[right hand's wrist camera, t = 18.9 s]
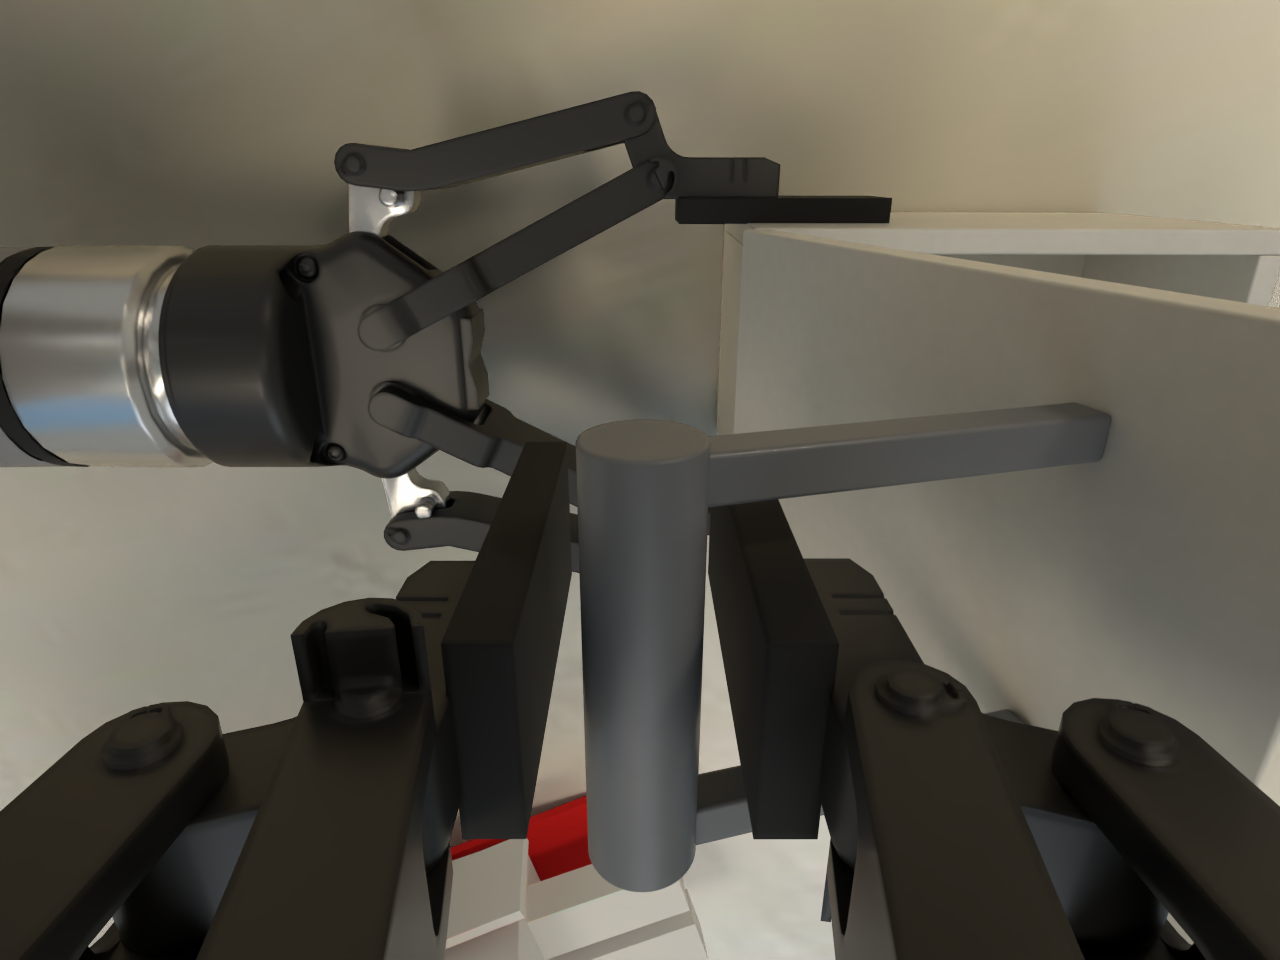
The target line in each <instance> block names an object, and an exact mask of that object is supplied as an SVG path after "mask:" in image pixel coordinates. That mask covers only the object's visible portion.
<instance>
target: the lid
mask: <svg viewBox="0 0 1280 960" xmlns="http://www.w3.org/2000/svg"><path fill="white" fill-rule="evenodd" d="M576 470H577V502H578V534H579V566H580V598H581V630H582V663H583V695H584V727H585V759H586V791H587V823H588V852H589V857H590V860H591V863H592V864H593V866H594V868H595V870H596V871H597V872H598V873H599V875H600V876H601V877H602V878H603V879H605V880H606V881H607V882H609V883H610V884H612V885H614V886H616V887H618V888H620V889H623V890H627V891H632V892H652V891H657V890H660V889H664V888H666V887H668V886H670V885H672V884H674V883H675V882H677V881H678V880H679V879H681V878H682V877H683V876H684V874H685V873H686V872H687V871H688V869H689V868H690V866H691V864H692V862H693V859H694V856H695V849H696V845H699V844H703V843H708V842H712V841H716V840H720V839H724V838H729V837H733V836H737V835H741V834H745V833H750V832H752V827H751V821H750V815H749V809H748V804H747V798H746V792H745V786H744V780H743V774H742V768H741V765H740V766H736V767H731V768H726V769H722V770H717V771H712V772H707V773H703V774H698V768H699V741H700V714H701V687H702V660H703V633H704V606H705V579H706V552H707V525H708V508H709V507H717V506H726V505H734V504H742V503H751V502H759V501H768V500H776V499H778V500H779V502H780V504H781V507H782V509H783V512H784V514H785V516H786V519H787V521H788V523H789V526H790V528H791V530H792V533H793V535H794V538H795V540H796V542H797V545H798V547H799V549H800V552H801V554H802V556H803V558H850V559H851V560H852V561H854V562H855V563H857V564H858V565H859V566H861V567H862V568H864V569H865V570H866V571H868V572H869V573H871V574H872V575H873V576H874V578H875V580H876V581H877V583H878V585H879V586H880V588H881V590H882V592H883V593H884V598H886V599H887V600H888V602H889V604H890V606H891V607H892V609H893V613H894V615H896V616H897V618H898V619H899V621H900V623H901V625H902V626H903V628H904V630H905V631H906V633H907V635H908V637H909V638H910V640H911V642H912V644H913V645H914V647H915V649H916V651H917V652H918V654H919V656H920V657H921V659H922V661H923V663H924V664H926V665H928V666H931V667H933V668H936V669H938V670H941V671H943V672H946V673H948V674H949V675H951V676H952V677H953V678H955V679H956V680H958V681H959V682H961V683H962V684H963V685H965V686H966V687H967V689H968V690H969V691H970V693H971V694H972V696H973V697H974V698H975V700H976V701H977V703H978V706H979V708H980V711H981V712H982V713H984V714H986V715H989V716H993V717H997V718H1000V719H1004V720H1008V721H1012V722H1017V723H1022V724H1027V725H1031V726H1036V727H1041V728H1046V729H1051V730H1056V731H1058V730H1059V726H1060V722H1061V718H1062V714H1063V712H1064V711H1065V710H1066V709H1067V708H1068V707H1070V706H1071V705H1072V704H1073V703H1074V702H1078V701H1082V700H1087V699H1091V698H1103V699H1119V700H1123V701H1129V702H1132V703H1137V704H1141V705H1144V706H1147V707H1150V708H1152V709H1153V710H1156V711H1158V712H1160V713H1162V714H1165V715H1167V716H1169V717H1171V718H1174V719H1176V720H1177V721H1178V722H1180V723H1181V724H1183V725H1184V726H1186V727H1187V728H1189V729H1190V730H1192V731H1193V732H1194V733H1196V734H1197V735H1199V736H1200V737H1201V738H1202V739H1203V740H1204V741H1206V742H1207V743H1208V744H1209V745H1210V746H1211V747H1212V748H1214V749H1215V750H1216V751H1217V752H1218V753H1219V754H1220V755H1222V756H1223V757H1224V758H1225V759H1226V760H1227V761H1228V762H1230V763H1231V764H1232V765H1233V766H1234V767H1235V768H1236V769H1238V770H1239V771H1240V772H1241V773H1242V774H1243V775H1244V776H1246V777H1247V778H1248V779H1249V780H1250V781H1251V782H1253V783H1254V784H1255V785H1256V786H1257V787H1258V788H1259V789H1261V790H1262V791H1263V792H1264V793H1265V794H1266V795H1267V796H1269V797H1270V798H1271V799H1272V800H1273V801H1274V802H1275V803H1277V804H1278V805H1279V806H1280V308H1275V307H1269V306H1262V305H1256V304H1249V303H1243V302H1236V301H1230V300H1223V299H1217V298H1211V297H1204V296H1198V295H1191V294H1185V293H1178V292H1172V291H1165V290H1159V289H1152V288H1146V287H1140V286H1133V285H1127V284H1120V283H1114V282H1107V281H1101V280H1094V279H1088V278H1081V277H1075V276H1068V275H1062V274H1056V273H1049V272H1043V271H1036V270H1030V269H1023V268H1017V267H1010V266H1004V265H997V264H991V263H984V262H978V261H972V260H965V259H959V258H952V257H946V256H939V255H933V254H926V253H920V252H913V251H907V250H901V249H894V248H888V247H881V246H875V245H868V244H862V243H855V242H849V241H842V240H836V239H829V238H823V237H817V236H810V235H804V234H797V233H791V232H784V231H778V230H771V229H751V230H744V232H743V251H742V271H741V292H740V313H739V333H738V354H737V374H736V395H735V416H734V434H729V435H718V436H708V437H707V435H706V434H705V433H703V432H702V431H700V430H698V429H696V428H693V427H691V426H687V425H684V424H680V423H675V422H670V421H662V420H624V421H616V422H610V423H605V424H601V425H598V426H595V427H592V428H590V429H587V430H586V431H584V432H583V433H581V434H580V435H579V436H578V438H577V441H576ZM821 815H824V812H823V808H822V805H821V812H820V816H821ZM1167 920H1168V921H1169V922H1170V923H1171V925H1172V926H1173V927H1174V928H1175V930H1176V931H1177V932H1178V933H1179V934H1180V935H1181V936H1182V937H1183V938H1184V939H1185V940H1186V941H1187V942H1188V943H1189V944H1191V945H1192V944H1193V943H1194V942H1193V941H1192V940H1191V938H1190V937H1189V936H1188V935H1187V934H1186V932H1185V931H1184V930H1183V929H1182V928H1181V926H1180V925H1179V924H1178V923H1177V922H1176V920H1175V919H1174V918H1173V917H1172V916H1171V914H1170V913H1168V916H1167Z"/></svg>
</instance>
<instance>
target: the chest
mask: <svg viewBox="0 0 1280 960" xmlns="http://www.w3.org/2000/svg"><path fill="white" fill-rule="evenodd" d="M751 229H771V230H778V231H784V232H791V233H797V234H804V235H810V236H817V237H823V238H829V239H836V240H842V241H849V242H855V243H862V244H868V245H875V246H881V247H888V248H894V249H901V250H907V251H913V252H920V253H926V254H933V255H939V256H946V257H952V258H959V259H965V260H972V261H978V262H984V263H991V264H997V265H1004V266H1010V267H1017V268H1023V269H1030V270H1036V271H1043V272H1049V273H1056V274H1062V275H1068V276H1075V277H1081V278H1088V279H1094V280H1101V281H1107V282H1114V283H1120V284H1127V285H1133V286H1140V287H1146V288H1152V289H1159V290H1165V291H1172V292H1178V293H1185V294H1191V295H1198V296H1204V297H1211V298H1217V299H1223V300H1230V301H1236V302H1243V303H1249V304H1256V305H1262V306H1269V304H1270V301H1271V298H1272V294H1273V291H1274V288H1275V284H1276V281H1277V278H1278V274H1279V271H1280V228H1269V227H1258V226H1247V225H1236V224H1225V223H1214V222H1203V221H1192V220H1180V219H1169V218H1158V217H1147V216H1136V215H1125V214H1114V213H1103V212H890V221H889V223H747V224H724V249H723V274H722V299H721V325H720V350H719V375H718V400H717V425H716V427H717V431H718V435H729V434H734V416H735V395H736V374H737V354H738V333H739V313H740V292H741V271H742V251H743V232H744V230H751Z"/></svg>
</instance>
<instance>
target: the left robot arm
mask: <svg viewBox="0 0 1280 960" xmlns="http://www.w3.org/2000/svg"><path fill="white" fill-rule="evenodd" d="M622 143H625V146H626V149H627V152H628V154H629V157H630V160H631V163H632V166H633V168H632V169H631V170H629V171H627V172H625V173H623V174H622V175H620V176H618V177H616V178H614V179H613V180H611V181H609V182H607V183H605V184H604V185H602V186H600V187H598V188H596V189H594V190H593V191H591V192H589V193H587V194H585V195H584V196H582V197H580V198H578V199H576V200H575V201H573V202H571V203H569V204H567V205H565V206H564V207H562V208H560V209H558V210H556V211H555V212H553V213H551V214H549V215H547V216H546V217H544V218H542V219H540V220H538V221H536V222H535V223H533V224H531V225H529V226H527V227H526V228H524V229H522V230H520V231H518V232H517V233H515V234H513V235H511V236H509V237H507V238H506V239H504V240H502V241H500V242H498V243H497V244H495V245H493V246H491V247H489V248H488V249H486V250H484V251H482V252H480V253H478V254H477V255H475V256H473V257H471V258H469V259H467V260H466V261H464V262H462V263H460V264H458V265H456V266H455V267H453V268H451V269H449V270H447V271H446V272H444V273H443V272H442V271H441V270H439V269H438V268H436V267H435V266H433V265H432V264H431V263H429V262H428V261H426V260H425V259H423V258H422V257H420V256H419V255H418V254H416V253H415V252H413V251H412V250H410V249H409V248H408V247H406V246H405V245H403V244H402V243H400V242H399V241H398V240H396V239H395V238H393V237H392V236H390V235H389V234H388V231H389V226H390V224H391V222H392V221H393V220H394V219H395V218H396V217H398V216H400V215H406V214H411V213H413V212H414V211H416V209H417V208H418V207H419V205H420V203H421V191H424V190H436V189H445V188H450V187H455V186H459V185H463V184H467V183H471V182H475V181H479V180H482V179H486V178H490V177H494V176H498V175H502V174H506V173H510V172H513V171H517V170H521V169H525V168H529V167H533V166H537V165H540V164H544V163H548V162H552V161H556V160H560V159H564V158H568V157H571V156H575V155H579V154H583V153H587V152H591V151H595V150H599V149H602V148H606V147H610V146H614V145H618V144H622ZM334 163H335V168H336V171H337V173H338V174H339V176H340V178H341V179H343V180H344V181H345V182H346V183H348V190H349V233H347V234H345V235H343V236H341V237H340V238H338V239H337V240H335V241H333V242H332V243H329V244H327V245H316V246H206V247H202V248H200V249H198V250H196V251H193V250H190V249H188V248H185V247H183V246H180V245H165V246H56V247H36V248H0V467H44V466H81V467H88V466H126V467H203V466H206V465H208V464H210V463H212V462H215V463H217V464H219V465H222V466H228V467H322V466H336V465H346V466H351V467H355V468H358V469H361V470H363V471H366V472H368V473H370V474H372V475H374V476H376V477H379V478H382V482H383V486H384V490H385V494H386V498H387V502H388V506H389V509H390V513H391V520H390V522H389V523H388V525H387V526H386V528H385V530H384V538H385V540H386V542H387V544H388V545H390V546H391V547H392V548H394V549H396V550H403V551H405V550H414V549H424V548H433V547H443V546H452V547H457V548H462V549H467V550H472V551H476V552H480V549H481V547H482V545H483V542H484V540H485V538H486V535H487V533H488V530H489V528H490V526H491V523H492V521H493V519H494V516H495V514H496V511H497V509H498V507H499V504H500V502H501V500H502V498H498V497H494V496H489V495H484V494H479V493H473V492H464V491H449V490H448V488H447V487H446V486H445V484H444V483H443V482H441V481H435V480H428V479H426V478H423V477H422V476H421V475H419V473H418V472H417V471H416V468H415V467H417V466H418V465H419V464H421V463H422V462H423V461H425V460H426V459H427V458H429V457H430V456H432V455H433V454H434V453H436V452H437V451H438V450H441V451H443V452H446V453H448V454H450V455H452V456H454V457H456V458H459V459H461V460H463V461H465V462H467V463H469V464H472V465H474V466H477V467H482V468H484V467H491V468H494V469H496V470H498V471H501V472H503V473H505V474H507V475H509V476H512V474H513V471H514V469H515V467H516V464H517V462H518V459H519V457H520V455H521V452H522V450H523V448H524V445H525V443H526V442H565V441H563V440H561V439H559V438H557V437H555V436H553V435H551V434H548V433H546V432H544V431H542V430H540V429H538V428H536V427H534V426H532V425H530V424H527V423H525V422H523V421H521V420H519V419H517V418H516V417H514V416H513V415H512V413H511V412H510V411H508V410H507V409H505V408H504V407H502V406H500V405H498V404H496V403H493V402H491V401H489V400H487V399H486V398H487V397H488V395H489V384H488V373H487V370H486V367H485V365H484V362H483V359H482V356H481V346H482V341H483V336H484V331H485V329H484V316H483V309H479V308H478V305H477V303H476V301H477V300H478V299H480V298H482V297H484V296H485V295H487V294H489V293H490V292H492V291H494V290H496V289H497V288H499V287H501V286H503V285H505V284H507V283H509V282H510V281H512V280H514V279H516V278H518V277H520V276H521V275H523V274H525V273H527V272H529V271H531V270H533V269H534V268H536V267H538V266H540V265H542V264H544V263H546V262H547V261H549V260H551V259H553V258H555V257H557V256H558V255H560V254H562V253H564V252H566V251H568V250H570V249H571V248H573V247H575V246H577V245H579V244H581V243H583V242H584V241H586V240H588V239H590V238H592V237H594V236H595V235H597V234H599V233H601V232H603V231H605V230H607V229H608V228H610V227H612V226H614V225H616V224H618V223H619V222H621V221H623V220H625V219H627V218H629V217H631V216H632V215H634V214H636V213H638V212H640V211H642V210H644V209H645V208H647V207H649V206H651V205H653V204H655V203H656V202H658V201H660V200H662V199H676V200H675V220H676V221H677V222H678V223H679V224H747V223H889V221H890V212H891V203H892V198H885V197H875V196H778V191H779V175H780V164H778V163H775V162H773V161H771V160H769V159H766V158H689V157H682V156H680V155H678V154H676V153H675V152H673V151H672V150H671V149H670V147H669V146H668V144H667V142H666V140H665V137H664V134H663V131H662V128H661V125H660V122H659V119H658V116H657V113H656V108H655V105H654V103H653V100H652V99H651V98H650V97H649V96H648V95H647V94H644V93H642V92H639V91H638V92H629V93H625V94H621V95H617V96H613V97H610V98H606V99H602V100H598V101H594V102H591V103H587V104H583V105H579V106H575V107H572V108H568V109H564V110H560V111H557V112H553V113H549V114H545V115H541V116H538V117H534V118H530V119H526V120H522V121H519V122H515V123H511V124H507V125H503V126H500V127H496V128H492V129H488V130H485V131H481V132H477V133H473V134H469V135H466V136H462V137H458V138H454V139H450V140H447V141H443V142H439V143H435V144H431V145H428V146H424V147H420V148H416V149H413V150H408V149H400V148H392V147H384V146H376V145H367V144H357V143H350V144H345V145H343V146H342V147H340V148H339V150H338V151H337V153H336V155H335V161H334ZM567 456H568V483H569V503H570V504H572V505H574V506H576V507H578V502H577V470H576V446H574V445H572V444H569V443H567ZM710 510H711V507H709V508H708V525H707V535H710ZM570 538H571V565H572V572H577V573H580V566H579V534H578V515H577V514H572V513H570Z"/></svg>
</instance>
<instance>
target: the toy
mask: <svg viewBox="0 0 1280 960" xmlns="http://www.w3.org/2000/svg"><path fill="white" fill-rule="evenodd" d="M450 849H451V857H452V865H453V881H452V891H451V901H450V910H449V920H448V930H447V940H446V950H445V959H444V960H708V956H707V952H706V947H705V943H704V939H703V935H702V931H701V926H700V923H699V920H698V917H697V915H696V912H695V909H694V907H693V904H692V901H691V899H690V896H689V893H688V891H687V889H685V887H684V883H683V878H681V879H679V880H678V881H677V882H675V883H674V884H672V885H670V886H668V887H666V888H664V889H660V890H657V891H652V892H632V891H627V890H623V889H620V888H618V887H616V886H614V885H612V884H610V883H609V882H607V881H606V880H605V879H603V878H602V877H601V876H600V875H599V873H598V872H597V871H596V870H595V868H594V866H593V864H592V863H591V860H590V857H589V852H588V823H587V796H584V797H581V798H579V799H576V800H574V801H571V802H568V803H566V804H563V805H561V806H558V807H555V808H553V809H550V810H548V811H545V812H543V813H540V814H537V815H535V816H532V817H530V821H529V827H528V833H527V839H473V840H470V841H467V842H465V843H462V844H460V845H457V846H455V847H452V848H450Z"/></svg>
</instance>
